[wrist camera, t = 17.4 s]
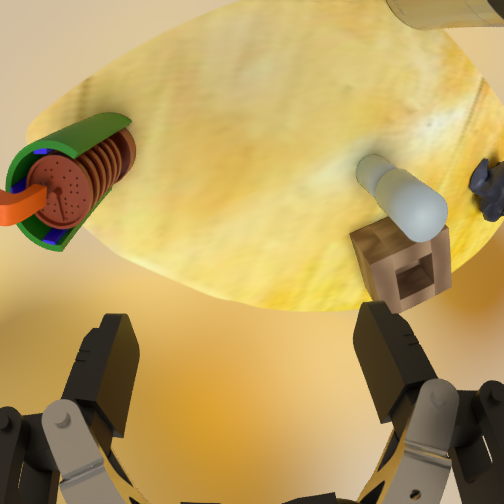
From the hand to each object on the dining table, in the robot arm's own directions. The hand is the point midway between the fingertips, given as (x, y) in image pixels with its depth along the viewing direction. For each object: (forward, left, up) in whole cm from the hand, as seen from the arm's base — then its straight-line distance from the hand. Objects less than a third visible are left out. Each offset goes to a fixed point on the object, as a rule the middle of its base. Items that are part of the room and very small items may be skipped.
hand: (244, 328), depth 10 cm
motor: (+15, -7, -30) cm, 35 cm away
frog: (-35, +21, -30) cm, 51 cm away
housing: (-15, +24, -30) cm, 41 cm away
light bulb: (-15, +11, -30) cm, 35 cm away
